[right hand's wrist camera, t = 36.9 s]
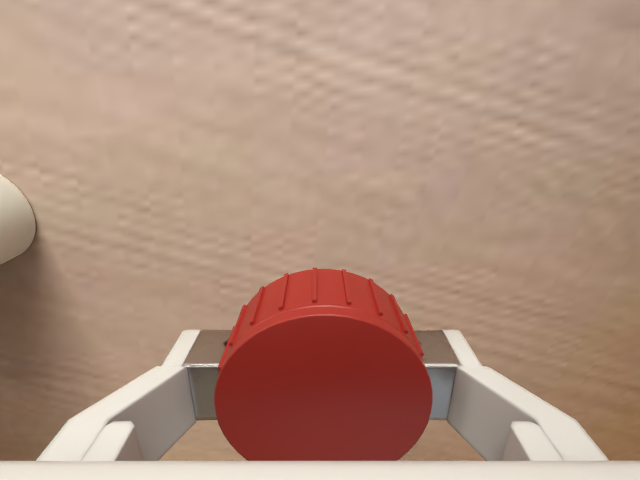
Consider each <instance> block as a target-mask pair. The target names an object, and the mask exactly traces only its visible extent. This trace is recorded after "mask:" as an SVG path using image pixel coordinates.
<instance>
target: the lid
mask: <svg viewBox="0 0 640 480" xmlns="http://www.w3.org/2000/svg"><path fill="white" fill-rule="evenodd" d="M422 356H424V353H423V351H422V348H421V346H420V344H419V342H418V339H417V337H416V335H415V332H414V330H413V328H412V325H411V323H410V321H409V319H408V316H407V314H405V315H404V314H403V313H402V311H401V309H400V307H399V306H398V304H397V302H396V300H395V298H394V296H393V295H392V294H391V295H389V294H388V293H387V292H386V291H385V290H383V289H382V288H381V287H379V286H378V285H377V284H375V283H374V282H373V280H372V279H370V278H369V280H368V279H366V278H364V277H361V276H358V275H356V274H353V273H349V272H346V270H344V269H342V271H340V270H332V269H317V268H313V270H305V271H301V272H297V273H293V274H290V275H288V273H287V274H285V275H284V277H282V278H280V279H278V280H276V281H274V282H272V283H270V284H269V285H268V286H266V287H265V288H264V287H263V286H262V287H261V288H260V290H259V292H258V293H257V294H256V295H255V296H254V297H253V298H252V299H251V301H250V302H249V303H248V304H247V306H246V305H244V306H243V307H242V310H241V312H240V315H239V318H238V320H237V323H236V326H234V327H233V329H232V332H231V334H230V337H229V340H228V342H227V345H226V348H225V350H224V353H223V356H222V358H221V361H220V363H219V366H218V370H220V373H219V375H218V378H217V382H216V386H215V391H214V405H215V413H216V417H217V420H218V423H219V426H220V428H221V430H222V432H223V434H224V436H225V437H226V439H227V440H228V441H229V443H230V444H231V445H232V446H233V447H234V449H235V450H236V451H237V452H238V453H239V454H241V455H242V456H243V457H244V458H245V459H246V460H248V461H397V460H398V459H400V458H401V457H402V456H403V455H404V454H406V453H407V452H408V451H409V450H410V449H411V448H412V447H413V446H414V445H415V443H416V442H417V441H418V439H419V438H420V436H421V435H422V434H423V432H424V430H425V428H426V426H427V424H428V421H429V417H430V414H431V409H432V403H433V393H432V385H431V380H430V377H429V374H428V372H427V369H426V366H425V364H424V362H423V360H422Z"/></svg>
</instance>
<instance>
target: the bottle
mask: <svg viewBox="0 0 640 480" xmlns="http://www.w3.org/2000/svg"><path fill="white" fill-rule="evenodd" d="M35 231H36V224H35V217H34V213H33V211H32V208H31V206H30V204H29V202H28V201H27V199H26V198H25V196H24V195H23V194H22V192H21V191H20V190H19V189H18V188H17V187H16V186H15V185H14V184H13V183H12V182H10V181H9V180H8V179H7V178H5V177H4V176H2V175H0V265H1V264H3V263H5V262H6V261H8V260H10V259H12V258H14V257H16V256H18V255H20V254H22V253H23V252H24V251H26V250H27V249H28V247H29V246H30V245H31V243H32V241H33V239H34V236H35Z"/></svg>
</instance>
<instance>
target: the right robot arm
mask: <svg viewBox="0 0 640 480" xmlns="http://www.w3.org/2000/svg"><path fill="white" fill-rule="evenodd" d="M231 332H232V330H184V331H183V332H182V333H181V335H180V336H179V338H178V340H177V341H176V343H175V344H174V346H173V348H172V349H171V351H170V353H169V354H168V356H167V358H166V359H165V361H164V362H163V364H162V366H156V367H154V368H153V369H151V370H149V371H148V372H146V373H144V374H143V375H141V376H139V377H138V378H136V379H134V380H133V381H131V382H130V383H128V384H126V385H125V386H123V387H121V388H120V389H118V390H116V391H115V392H113V393H111V394H110V395H108V396H107V397H105V398H103V399H102V400H100V401H98V402H97V403H95V404H93V405H92V406H90V407H88V408H87V409H85V410H84V411H82V412H80V413H79V414H77V415H75V416H74V417H72V418H70V419H69V420H68V421H67V422H66V424H65V425H64V426H63V427H62V429H61V430H60V431H59V432H58V434H57V435H56V436H55V437H54V439H53V440H52V441H51V442H50V444H49V445H48V446H47V447H46V449H45V450H44V451H43V452H42V454H41V455H40V456H39V457H38V459H37V460H36V461H0V480H640V461H609V460H608V458H607V457H606V456H605V455H604V454H603V452H602V451H601V450H600V449H599V447H598V446H597V445H596V444H595V442H594V441H593V440H592V439H591V437H590V436H589V435H588V434H587V433H586V431H585V430H584V429H583V428H582V426H581V425H580V424H579V423H578V421H577V420H575V419H574V418H572V417H570V416H569V415H567V414H565V413H564V412H562V411H561V410H559V409H557V408H556V407H554V406H552V405H551V404H549V403H547V402H546V401H544V400H542V399H541V398H539V397H537V396H536V395H534V394H532V393H531V392H529V391H527V390H526V389H524V388H523V387H521V386H519V385H518V384H516V383H514V382H513V381H511V380H509V379H508V378H506V377H504V376H503V375H501V374H499V373H498V372H496V371H494V370H493V369H491V368H489V367H488V366H482V365H481V363H480V362H479V360H478V358H477V357H476V355H475V354H474V352H473V351H472V349H471V347H470V346H469V344H468V343H467V341H466V340H465V338H464V336H463V335H462V333H461V332H460V331H459V330H457V329H455V330H434V331H414V332H415V335H416V337H417V339H418V342H419V344H420V346H421V348H422V351H423V353H424V356H422V360H423V362H424V364H425V366H426V369H427V372H428V374H429V377H430V380H431V385H432V393H433V403H432V409H431V414H430V417H429V420H447V422H448V423H449V424H450V425H451V426H452V427H453V428H454V429H455V430H456V431H457V432H458V433H459V434H460V435H461V436H462V437H463V438H464V439H465V440H466V441H467V442H468V443H469V444H470V445H471V446H472V447H473V448H474V449H475V450H476V451H477V452H478V453H479V454H480V455H481V456H482V457H483V458H484V459H485V460H486V461H158V460H159V459H160V458H161V457H162V456H163V455H164V454H165V453H166V452H167V451H168V450H169V449H170V448H171V447H172V446H173V445H174V444H175V443H176V442H177V441H178V440H179V439H180V438H181V437H182V436H183V435H184V434H185V433H186V432H187V431H188V430H189V429H190V428H191V427H192V426H193V425H194V424H195V423H196V420H217V417H216V413H215V405H214V391H215V386H216V382H217V378H218V375H219V373H220V370H218V366H219V363H220V361H221V358H222V356H223V353H224V350H225V348H226V345H227V342H228V340H229V337H230V334H231Z"/></svg>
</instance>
